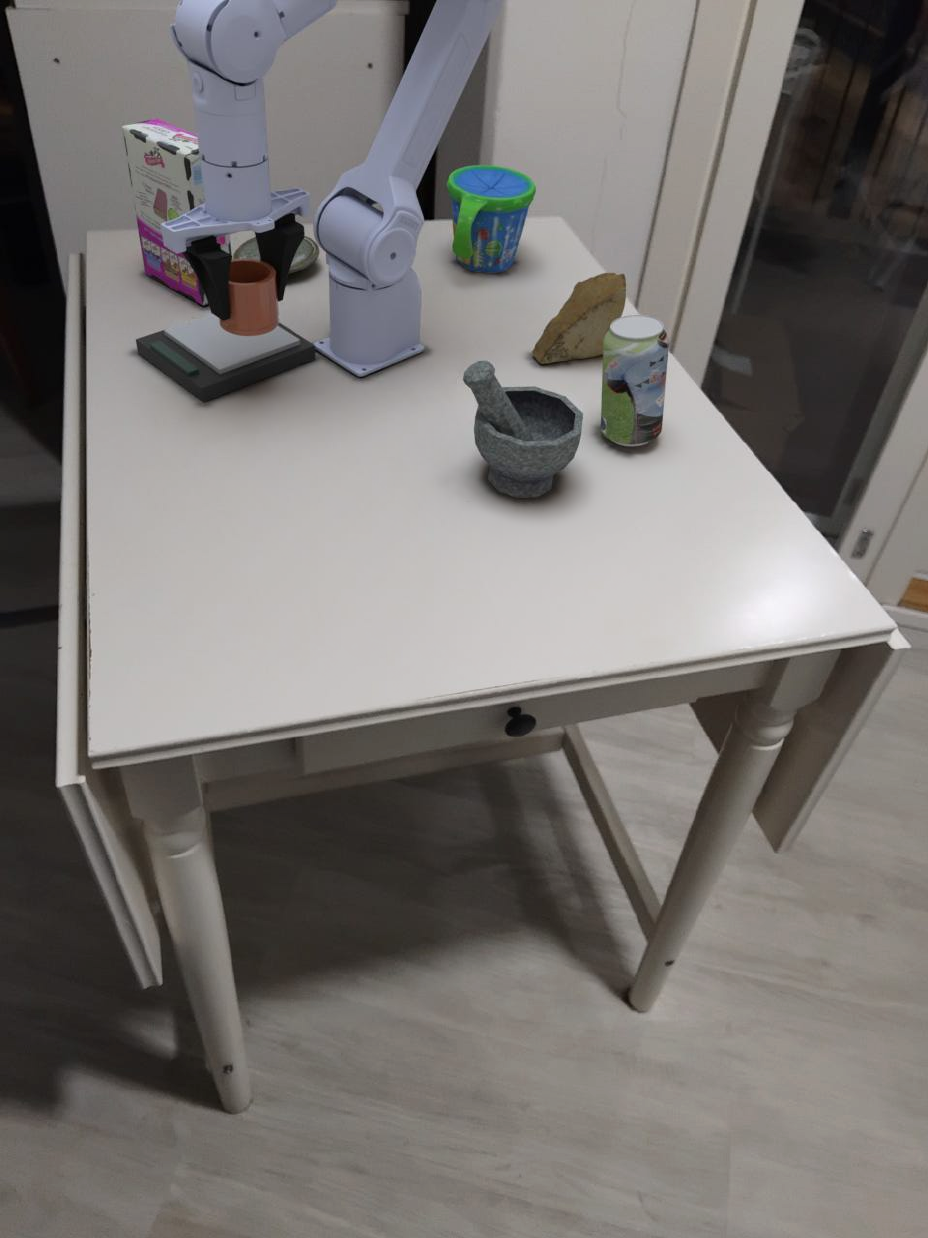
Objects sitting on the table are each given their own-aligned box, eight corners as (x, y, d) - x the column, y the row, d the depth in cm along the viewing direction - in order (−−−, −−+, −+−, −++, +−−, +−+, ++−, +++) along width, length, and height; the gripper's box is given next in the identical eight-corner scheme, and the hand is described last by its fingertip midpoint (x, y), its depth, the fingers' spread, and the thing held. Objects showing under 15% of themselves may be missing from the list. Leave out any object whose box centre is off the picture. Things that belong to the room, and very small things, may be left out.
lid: (334, 281, 117) (339, 239, 114) (276, 286, 110) (280, 241, 107) (273, 257, 121) (277, 216, 119) (213, 260, 114) (216, 216, 111)
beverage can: (656, 459, 92) (686, 347, 84) (582, 445, 93) (604, 333, 85) (660, 425, 97) (688, 315, 88) (589, 412, 98) (610, 302, 89)
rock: (533, 359, 100) (629, 354, 99) (531, 274, 99) (627, 269, 98) (530, 372, 110) (616, 367, 110) (528, 296, 109) (614, 291, 109)
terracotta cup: (255, 302, 93) (251, 252, 90) (290, 324, 91) (287, 274, 87) (207, 318, 90) (201, 268, 87) (242, 342, 88) (237, 291, 84)
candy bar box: (238, 294, 110) (224, 144, 98) (203, 308, 107) (185, 154, 95) (177, 261, 114) (158, 114, 103) (142, 273, 111) (118, 123, 100)
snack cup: (489, 296, 114) (497, 211, 107) (416, 271, 118) (420, 187, 110) (548, 254, 124) (560, 174, 117) (479, 231, 128) (486, 152, 120)
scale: (248, 315, 106) (247, 296, 105) (315, 358, 101) (315, 339, 99) (137, 352, 99) (134, 333, 97) (203, 402, 93) (201, 382, 92)
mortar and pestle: (559, 447, 93) (579, 334, 84) (583, 506, 86) (608, 391, 78) (446, 451, 91) (455, 336, 82) (462, 512, 84) (473, 394, 76)
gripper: (187, 188, 74) (207, 346, 84) (331, 152, 82) (334, 300, 92) (138, 160, 77) (162, 315, 87) (280, 128, 85) (288, 274, 95)
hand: (247, 306), depth 89 cm, fingers closed on terracotta cup, 5 cm apart
